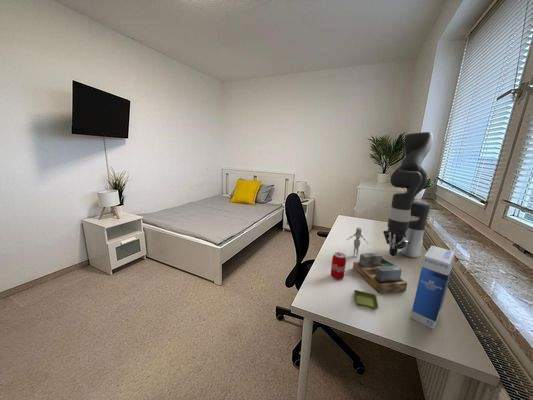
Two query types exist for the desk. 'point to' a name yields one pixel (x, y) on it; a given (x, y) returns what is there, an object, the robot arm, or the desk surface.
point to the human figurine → (357, 240)
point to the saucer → (365, 299)
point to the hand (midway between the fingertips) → (392, 255)
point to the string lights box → (432, 285)
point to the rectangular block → (388, 274)
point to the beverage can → (338, 266)
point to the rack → (368, 271)
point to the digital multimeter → (386, 263)
